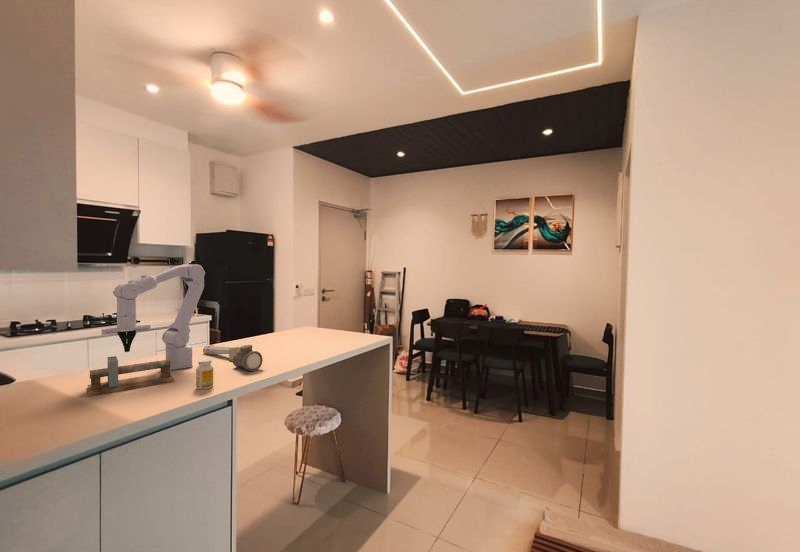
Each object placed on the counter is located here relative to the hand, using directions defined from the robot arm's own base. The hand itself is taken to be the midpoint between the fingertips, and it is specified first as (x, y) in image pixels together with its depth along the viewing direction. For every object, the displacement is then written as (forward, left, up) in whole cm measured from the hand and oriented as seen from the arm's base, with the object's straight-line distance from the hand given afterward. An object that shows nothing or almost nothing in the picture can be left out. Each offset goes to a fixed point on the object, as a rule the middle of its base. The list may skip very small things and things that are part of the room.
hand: (127, 351), depth 135 cm
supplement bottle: (-20, +28, -11) cm, 36 cm away
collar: (+5, +9, -9) cm, 14 cm away
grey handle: (-37, -12, -11) cm, 40 cm away
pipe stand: (-1, +9, -10) cm, 14 cm away
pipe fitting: (-39, +14, -11) cm, 43 cm away
